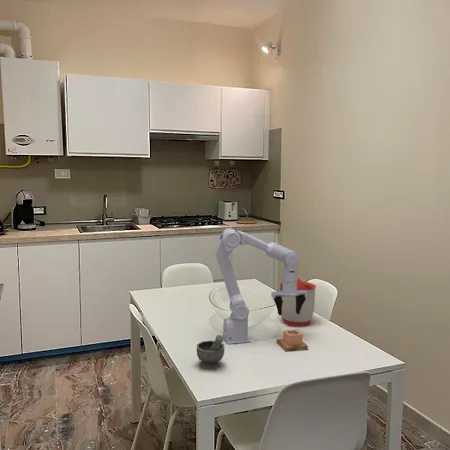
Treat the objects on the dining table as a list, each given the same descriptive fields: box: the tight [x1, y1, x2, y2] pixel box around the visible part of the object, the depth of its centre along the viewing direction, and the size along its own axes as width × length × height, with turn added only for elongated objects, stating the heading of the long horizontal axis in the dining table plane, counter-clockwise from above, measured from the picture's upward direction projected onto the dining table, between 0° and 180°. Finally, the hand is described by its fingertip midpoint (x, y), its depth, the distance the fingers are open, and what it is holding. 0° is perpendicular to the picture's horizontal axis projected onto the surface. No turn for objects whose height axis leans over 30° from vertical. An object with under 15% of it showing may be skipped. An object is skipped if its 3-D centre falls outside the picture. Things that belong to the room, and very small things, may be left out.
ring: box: [282, 328, 304, 346], centre depth 175 cm, size 6×6×4 cm
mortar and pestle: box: [196, 334, 225, 370], centre depth 156 cm, size 11×9×12 cm
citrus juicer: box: [279, 277, 317, 327], centre depth 201 cm, size 16×17×20 cm
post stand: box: [276, 331, 309, 353], centre depth 175 cm, size 9×9×6 cm
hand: (288, 314), depth 182 cm, fingers open, 7 cm apart
